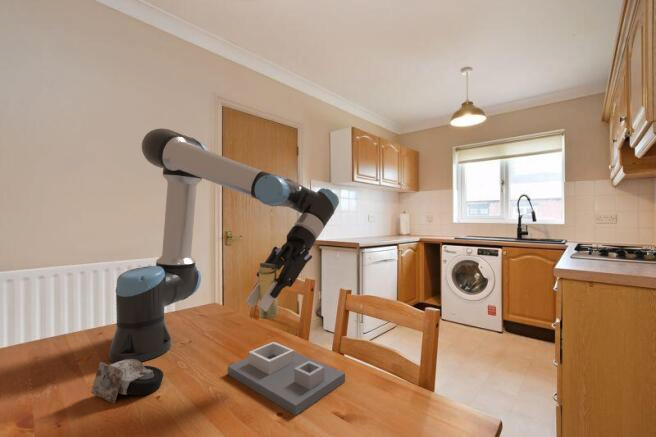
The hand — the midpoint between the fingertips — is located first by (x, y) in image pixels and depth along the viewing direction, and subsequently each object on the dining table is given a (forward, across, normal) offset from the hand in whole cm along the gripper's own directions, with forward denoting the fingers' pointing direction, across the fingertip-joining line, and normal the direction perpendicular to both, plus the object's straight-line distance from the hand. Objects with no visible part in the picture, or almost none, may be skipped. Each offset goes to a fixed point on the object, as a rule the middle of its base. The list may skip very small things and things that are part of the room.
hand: (255, 305), depth 72 cm
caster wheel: (+27, +17, +2) cm, 32 cm away
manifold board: (+9, -5, -16) cm, 19 cm away
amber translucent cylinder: (0, 0, -5) cm, 5 cm away
